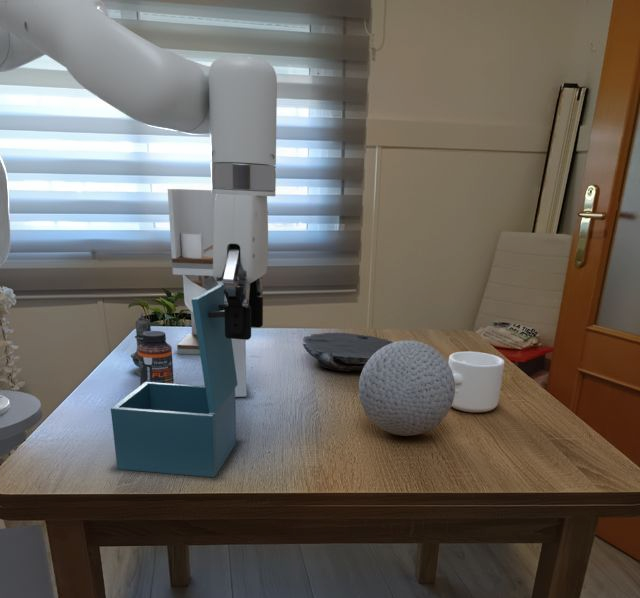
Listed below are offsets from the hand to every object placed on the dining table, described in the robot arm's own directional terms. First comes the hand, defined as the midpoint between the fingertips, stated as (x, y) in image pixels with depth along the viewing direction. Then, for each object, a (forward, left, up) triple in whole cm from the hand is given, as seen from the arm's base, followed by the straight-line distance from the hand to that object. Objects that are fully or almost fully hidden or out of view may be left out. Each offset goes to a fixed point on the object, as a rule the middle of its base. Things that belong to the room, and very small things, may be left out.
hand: (244, 330), depth 74 cm
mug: (+34, +31, -19) cm, 50 cm away
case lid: (-4, 0, -2) cm, 5 cm away
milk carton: (-11, +28, -19) cm, 35 cm away
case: (-10, 0, -19) cm, 21 cm away
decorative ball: (+22, +15, -19) cm, 33 cm away
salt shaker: (-30, +37, -19) cm, 51 cm away
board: (+11, +52, -19) cm, 56 cm away
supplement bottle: (-23, +25, -19) cm, 39 cm away
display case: (-24, +58, -19) cm, 65 cm away
